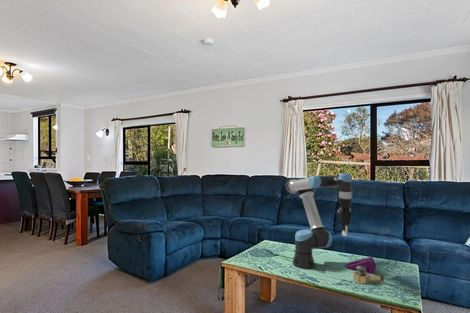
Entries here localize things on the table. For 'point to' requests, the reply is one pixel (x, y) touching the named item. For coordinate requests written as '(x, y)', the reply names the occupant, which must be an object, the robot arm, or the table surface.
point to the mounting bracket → (363, 264)
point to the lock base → (362, 273)
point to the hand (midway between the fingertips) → (344, 235)
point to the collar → (366, 277)
